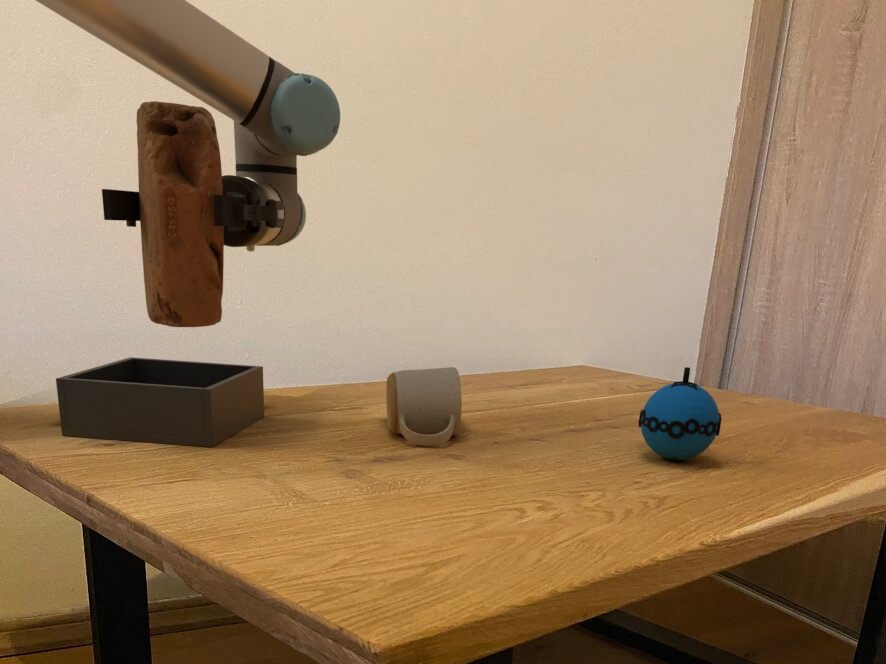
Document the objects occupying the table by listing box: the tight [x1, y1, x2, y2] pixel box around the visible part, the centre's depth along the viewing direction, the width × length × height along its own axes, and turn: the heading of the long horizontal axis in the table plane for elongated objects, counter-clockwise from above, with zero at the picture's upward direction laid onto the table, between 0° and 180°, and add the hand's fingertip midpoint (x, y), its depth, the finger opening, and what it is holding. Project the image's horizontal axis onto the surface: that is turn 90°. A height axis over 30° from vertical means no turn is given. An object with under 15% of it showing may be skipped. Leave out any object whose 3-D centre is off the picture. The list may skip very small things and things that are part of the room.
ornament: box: [638, 366, 722, 462], centre depth 100 cm, size 9×9×10 cm
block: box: [136, 101, 225, 328], centre depth 91 cm, size 11×8×20 cm
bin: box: [55, 356, 265, 448], centre depth 105 cm, size 17×18×6 cm
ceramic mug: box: [385, 366, 463, 448], centre depth 105 cm, size 11×8×8 cm
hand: (161, 207), depth 87 cm, fingers closed on block, 10 cm apart
